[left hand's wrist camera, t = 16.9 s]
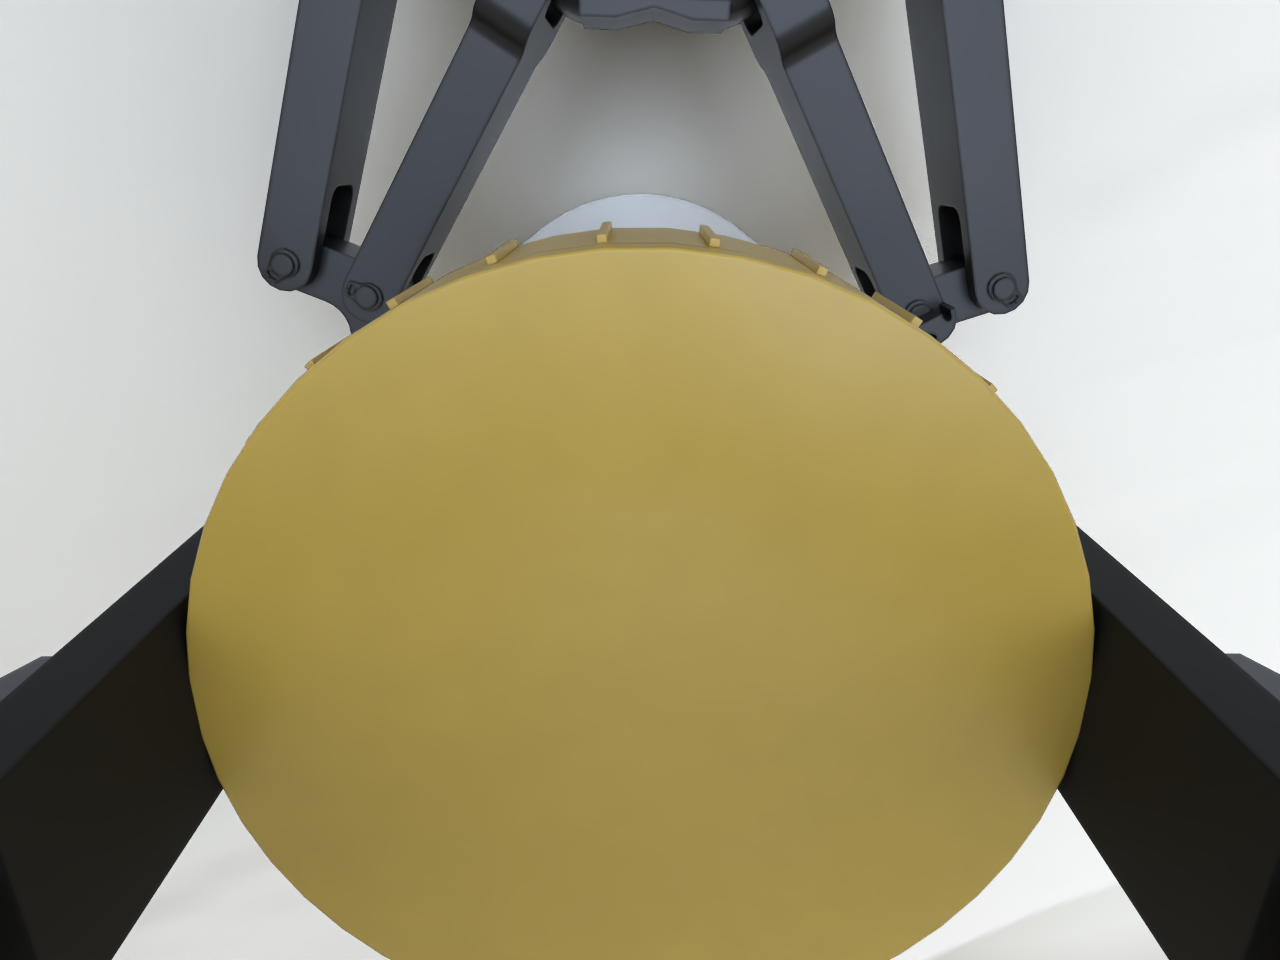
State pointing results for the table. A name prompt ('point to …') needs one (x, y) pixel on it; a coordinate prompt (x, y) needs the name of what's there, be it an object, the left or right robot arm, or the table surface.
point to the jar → (639, 216)
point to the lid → (640, 615)
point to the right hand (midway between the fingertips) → (635, 565)
